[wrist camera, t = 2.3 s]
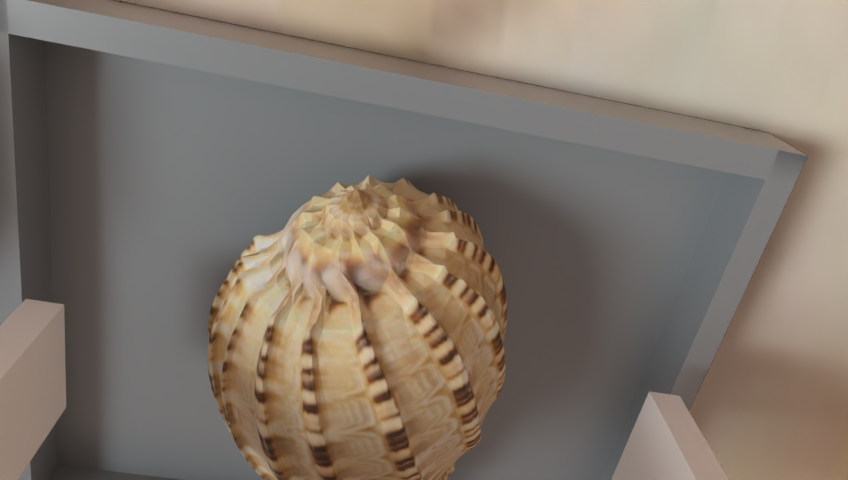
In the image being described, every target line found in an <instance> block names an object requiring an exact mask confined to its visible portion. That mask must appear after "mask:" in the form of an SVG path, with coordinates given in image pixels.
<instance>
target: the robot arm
mask: <svg viewBox="0 0 848 480" xmlns="http://www.w3.org/2000/svg"><path fill="white" fill-rule="evenodd" d="M65 408H66V368H65V320H64V304H58V303H51V302H45V301H38V300H31V299H25V300H24V301H23V302H22V303H21V304H20V305H19V306H18V308H17V309H16V310H15V311H14V312H13V313H12V314H11V315H10V316H9V317H8V318H7V319H6V320H5V321H4V322H3V323H2V324H1V325H0V480H18V479H19V477H20V476H21V474H22V473H23V471H24V470H25V468H26V467H27V465H28V464H29V462H30V461H31V459H32V458H33V456H34V455H35V453H36V452H37V450H38V449H39V447H40V446H41V444H42V443H43V441H44V440H45V438H46V437H47V435H48V434H49V432H50V431H51V429H52V428H53V426H54V425H55V423H56V422H57V420H58V419H59V417H60V416H61V414H62V413H63V411H64V410H65ZM612 480H729V478H728V477H727V475H726V473H725V472H724V470H723V468H722V466H721V465H720V463H719V461H718V460H717V458H716V456H715V455H714V453H713V451H712V450H711V448H710V446H709V445H708V443H707V441H706V439H705V438H704V436H703V434H702V433H701V431H700V429H699V428H698V426H697V424H696V423H695V421H694V419H693V418H692V416H691V414H690V412H689V411H688V409H687V407H686V406H685V404H684V402H683V401H682V399H681V397H680V396H677V395H670V394H664V393H657V392H650V391H649V393H648V395H647V398H646V400H645V402H644V405H643V407H642V409H641V412H640V414H639V416H638V419H637V421H636V423H635V426H634V428H633V430H632V433H631V435H630V437H629V439H628V442H627V444H626V446H625V449H624V451H623V453H622V456H621V458H620V460H619V463H618V465H617V467H616V470H615V472H614V474H613V477H612Z"/></svg>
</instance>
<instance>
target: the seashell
mask: <svg viewBox="0 0 848 480" xmlns="http://www.w3.org/2000/svg"><path fill="white" fill-rule="evenodd" d="M506 324H507V300H506V289H505V285H504V282H503V278H502V275H501V272H500V269H499V267H498V265H497V263H496V261H495V260H494V258H493V257H492V256H491V255H490V254H489V253H488V252H487V253H486V250H485V246H484V242H483V239H482V235H481V232H480V229H479V227H478V226H477V224H476V222H475V221H474V219H473V218H472V217H471V216H469V215H468V214H466V213H464V212H461V211H459V209H458V208H457V206H456V205H455V204H454V202H453V201H452V200H450V199H449V198H447V197H444V196H440V195H437V194H435V193H432V194H431V195H428V194H426V193H423V192H421V191H419V190H417V189H416V188H415V187H414V186H413V185H412V184H411V183H410V182H409V181H408V180H405V179H404V178H402V179H400V180H398V181H397V182H395V183H387V182H380V181H378V180H376V179H375V178H373V177H372V176H370V175H368V176H367V177H366V179H365V180H363V181H362V182H360V183H358V184H351V185H346V184H342V183H339V182H337V183H336V184H335V185H334V186H333V187H332V188H331V189H330V190H329V191H328V192H327V193H325V194H323V195H321V196H314V197H313V198H312V199H311V200H310V201H308V202H307V203H305V204H304V205H302V206H301V207H300V208H299V209H298V210H297V211H296V212H294V213H293V214H292V216H291V217H290V219H289V221H288V222H287V224H286V226H285V227H284V229H283V230H281V231H279V232H277V233H274V234H270V235H257V236H255V237H254V238H253V240H252V242H251V243H250V244H249V245H248V247H247V248H246V249H245V250H244V251H243V253H242V254H241V255H240V257H239V258H238V260H237V261H236V262H235V264H234V265H233V267H232V269H231V270H230V272H229V274H228V277H227V279H226V280H225V281H224V283H223V284H222V286H221V288H220V289H219V291H218V292H217V295H216V297H215V299H214V301H213V303H212V305H211V310H210V315H209V321H208V336H209V343H208V373H209V378H210V383H211V389H212V391H213V394H214V397H215V400H216V403H217V406H218V408H219V411H220V414H221V416H222V418H223V419H224V421H225V423H226V425H227V427H228V430H229V432H230V433H231V435H232V437H233V438H234V441H235V443H236V445H237V447H238V448H239V450H240V451H241V453H242V454H243V456H244V457H245V459H246V460H247V462H248V463H249V464H250V465H251V466H252V468H253V469H254V470H255V471H256V472H257V474H258V475H260V476H261V477H262V478H263V479H264V480H447V479H448V477H449V475H450V474H451V473H452V472H453V471H454V469H455V462H456V460H457V459H458V458H459V457H460V456H461V455H463V454H464V453H465V452H467V451H469V450H471V449H473V448H474V447H475V446H476V445H477V443H478V442H479V441H480V440H481V436H480V435H481V425H482V422H483V420H484V418H485V415H486V413H487V411H488V409H489V407H490V406H491V405H492V403H493V402H494V401H495V400H496V399H497V397H498V396H499V394H500V392H501V389H502V387H503V384H504V378H505V373H506V367H505V350H504V346H503V341H504V337H505V333H506Z"/></svg>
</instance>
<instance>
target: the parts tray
mask: <svg viewBox="0 0 848 480" xmlns="http://www.w3.org/2000/svg"><path fill="white" fill-rule="evenodd" d="M807 157H808V156H807V155H806V154H804V153H802V152H800V151H799V150H797V149H795V148H794V147H792V146H790V145H788V144H787V143H785V142H783V141H781V140H780V139H778V138H776V137H775V136H773V135H771V134H769V133H768V132H764V131H759V130H754V129H749V128H744V127H739V126H734V125H729V124H724V123H719V122H714V121H709V120H704V119H699V118H694V117H689V116H685V115H680V114H675V113H670V112H665V111H660V110H655V109H650V108H645V107H640V106H635V105H630V104H625V103H620V102H615V101H610V100H605V99H601V98H596V97H591V96H586V95H581V94H576V93H571V92H566V91H561V90H556V89H551V88H546V87H541V86H536V85H531V84H526V83H522V82H517V81H512V80H507V79H502V78H497V77H492V76H487V75H482V74H477V73H472V72H467V71H462V70H457V69H452V68H447V67H442V66H438V65H433V64H428V63H423V62H418V61H413V60H408V59H403V58H398V57H393V56H388V55H383V54H378V53H373V52H368V51H363V50H359V49H354V48H349V47H344V46H339V45H334V44H329V43H324V42H319V41H314V40H309V39H304V38H299V37H294V36H289V35H284V34H279V33H275V32H270V31H265V30H260V29H255V28H250V27H245V26H240V25H235V24H230V23H225V22H220V21H215V20H210V19H205V18H200V17H195V16H191V15H186V14H181V13H176V12H171V11H166V10H161V9H156V8H151V7H146V6H141V5H136V4H131V3H126V2H121V1H116V0H0V325H1V324H2V323H3V322H4V321H5V320H6V319H7V318H8V317H9V316H10V315H11V314H12V313H13V312H14V311H15V310H16V309H17V308H18V306H19V305H20V304H21V303H22V302H23V301H24V300H25V299H31V300H38V301H45V302H51V303H58V304H64V320H65V368H66V408H65V410H64V411H63V413H62V414H61V416H60V417H59V419H58V420H57V422H56V423H55V425H54V426H53V428H52V429H51V431H50V432H49V434H48V435H47V437H46V438H45V440H44V441H43V443H42V444H41V446H40V447H39V449H38V450H37V452H36V453H35V455H34V456H33V458H32V459H31V461H30V462H29V464H28V465H27V467H26V468H25V470H24V471H23V473H22V474H21V476H20V477H19V479H18V480H264V479H263V478H262V477H261V476H260V475H258V474H257V472H256V471H255V470H254V469H253V468H252V466H251V465H250V464H249V463H248V462H247V460H246V459H245V457H244V456H243V454H242V453H241V451H240V450H239V448H238V447H237V445H236V443H235V441H234V438H233V437H232V435H231V433H230V432H229V430H228V427H227V425H226V423H225V421H224V419H223V418H222V416H221V414H220V411H219V408H218V406H217V403H216V400H215V397H214V394H213V391H212V389H211V383H210V378H209V373H208V343H209V336H208V321H209V315H210V310H211V305H212V303H213V301H214V299H215V297H216V295H217V292H218V291H219V289H220V288H221V286H222V284H223V283H224V281H225V280H226V279H227V277H228V274H229V272H230V270H231V269H232V267H233V265H234V264H235V262H236V261H237V260H238V258H239V257H240V255H241V254H242V253H243V251H244V250H245V249H246V248H247V247H248V245H249V244H250V243H251V242H252V240H253V238H254V237H255V236H257V235H270V234H274V233H277V232H279V231H281V230H283V229H284V227H285V226H286V224H287V222H288V221H289V219H290V217H291V216H292V214H293V213H294V212H296V211H297V210H298V209H299V208H300V207H301V206H302V205H304V204H305V203H307V202H308V201H310V200H311V199H312V198H313V197H314V196H321V195H323V194H325V193H327V192H328V191H329V190H330V189H331V188H332V187H333V186H334V185H335V184H336V183H337V182H339V183H342V184H346V185H351V184H358V183H360V182H362V181H363V180H365V179H366V177H367V176H368V175H370V176H372V177H373V178H375V179H376V180H378V181H380V182H387V183H395V182H397V181H398V180H400V179H402V178H404V179H405V180H408V181H409V182H410V183H411V184H412V185H413V186H414V187H415V188H416V189H417V190H419V191H421V192H423V193H426V194H428V195H431V194H432V193H435V194H437V195H440V196H444V197H447V198H449V199H450V200H452V201H453V202H454V204H455V205H456V206H457V208H458V209H459V211H461V212H464V213H466V214H468V215H469V216H471V217H472V218H473V219H474V221H475V222H476V224H477V226H478V227H479V229H480V232H481V235H482V239H483V242H484V246H485V250H486V253H487V252H488V253H489V254H490V255H491V256H492V257H493V258H494V260H495V261H496V263H497V265H498V267H499V269H500V272H501V275H502V278H503V282H504V285H505V289H506V300H507V324H506V333H505V337H504V341H503V346H504V350H505V367H506V373H505V378H504V384H503V387H502V389H501V392H500V394H499V396H498V397H497V399H496V400H495V401H494V402H493V403H492V405H491V406H490V407H489V409H488V411H487V413H486V415H485V418H484V420H483V422H482V425H481V435H480V436H481V440H480V441H479V442H478V443H477V445H476V446H475V447H474V448H473V449H471V450H469V451H467V452H465V453H464V454H463V455H461V456H460V457H459V458H458V459H457V460H456V462H455V469H454V471H453V472H452V473H451V474H450V475H449V477H448V479H447V480H612V477H613V474H614V472H615V470H616V467H617V465H618V463H619V460H620V458H621V456H622V453H623V451H624V449H625V446H626V444H627V442H628V439H629V437H630V435H631V433H632V430H633V428H634V426H635V423H636V421H637V419H638V416H639V414H640V412H641V409H642V407H643V405H644V402H645V400H646V398H647V395H648V393H649V391H650V392H657V393H664V394H670V395H677V396H680V397H681V399H682V401H683V402H684V404H685V406H686V407H687V409H688V411H689V410H690V408H691V405H692V403H693V401H694V399H695V397H696V395H697V393H698V390H699V388H700V386H701V384H702V382H703V380H704V378H705V375H706V373H707V371H708V369H709V367H710V365H711V363H712V360H713V358H714V356H715V354H716V352H717V350H718V348H719V345H720V343H721V341H722V339H723V337H724V335H725V333H726V330H727V328H728V326H729V324H730V322H731V320H732V318H733V315H734V313H735V311H736V309H737V307H738V305H739V303H740V300H741V298H742V296H743V294H744V292H745V290H746V288H747V285H748V283H749V281H750V279H751V277H752V275H753V273H754V270H755V268H756V266H757V264H758V262H759V260H760V258H761V256H762V253H763V251H764V249H765V247H766V245H767V243H768V241H769V238H770V236H771V234H772V232H773V230H774V228H775V226H776V223H777V221H778V219H779V217H780V215H781V213H782V211H783V208H784V206H785V204H786V202H787V200H788V198H789V196H790V193H791V191H792V189H793V187H794V185H795V183H796V181H797V178H798V176H799V174H800V172H801V170H802V168H803V166H804V163H805V161H806V159H807Z"/></svg>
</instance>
